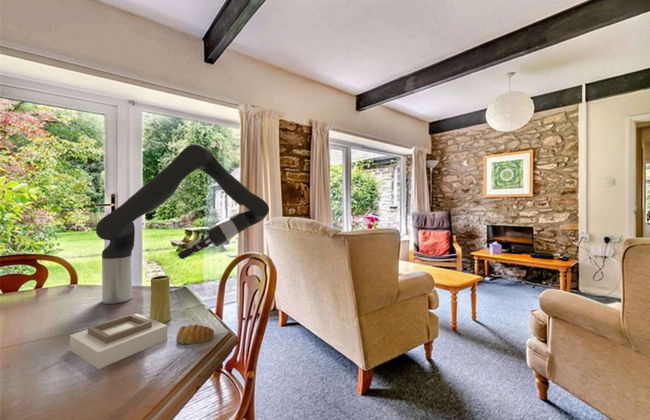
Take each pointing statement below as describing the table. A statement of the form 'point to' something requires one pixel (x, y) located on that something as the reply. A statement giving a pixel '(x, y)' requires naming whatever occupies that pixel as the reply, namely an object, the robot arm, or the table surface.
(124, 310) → the table surface
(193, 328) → the pastry
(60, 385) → the table surface
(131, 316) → the display stand
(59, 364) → the table surface
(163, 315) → the vase
